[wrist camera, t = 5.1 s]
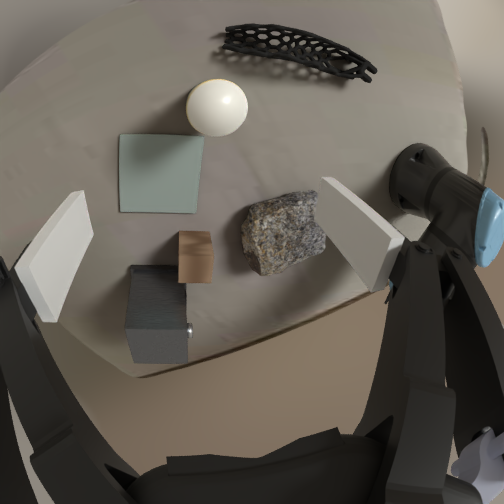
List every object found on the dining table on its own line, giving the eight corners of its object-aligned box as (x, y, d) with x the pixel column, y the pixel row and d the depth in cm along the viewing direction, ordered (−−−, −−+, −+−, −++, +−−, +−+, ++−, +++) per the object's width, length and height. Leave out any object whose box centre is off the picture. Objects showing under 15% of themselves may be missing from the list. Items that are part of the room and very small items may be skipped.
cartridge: (235, 84, 32) (253, 83, 23) (227, 125, 35) (243, 140, 26) (189, 79, 30) (190, 75, 21) (183, 121, 33) (182, 135, 24)
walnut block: (209, 231, 44) (214, 256, 39) (206, 256, 47) (211, 283, 41) (179, 230, 43) (179, 255, 37) (178, 255, 45) (178, 282, 40)
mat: (204, 136, 35) (204, 136, 35) (195, 212, 42) (196, 213, 41) (120, 134, 32) (119, 134, 31) (121, 210, 38) (120, 211, 38)
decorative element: (219, 55, 29) (225, 51, 24) (224, 24, 26) (231, 14, 21) (360, 85, 35) (382, 89, 30) (364, 58, 32) (387, 59, 27)
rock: (317, 181, 44) (229, 203, 43) (334, 196, 38) (235, 222, 38) (322, 242, 51) (246, 264, 50) (336, 262, 46) (252, 287, 45)
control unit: (189, 265, 47) (194, 327, 36) (187, 305, 52) (193, 364, 41) (131, 264, 44) (120, 326, 33) (136, 305, 50) (131, 364, 38)
